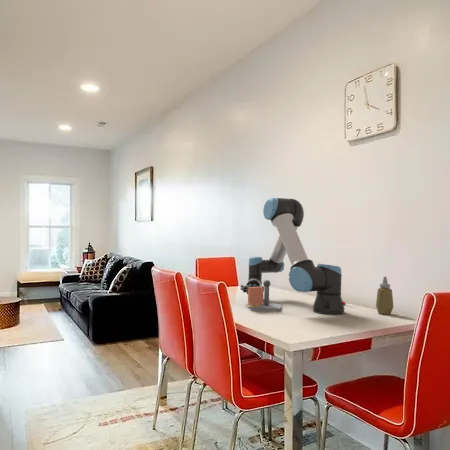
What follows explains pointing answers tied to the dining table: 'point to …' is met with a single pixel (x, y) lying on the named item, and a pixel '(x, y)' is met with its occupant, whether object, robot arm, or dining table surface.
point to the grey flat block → (266, 307)
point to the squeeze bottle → (384, 298)
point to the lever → (259, 294)
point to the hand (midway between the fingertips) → (249, 292)
